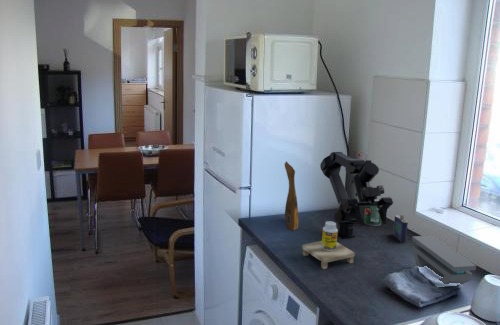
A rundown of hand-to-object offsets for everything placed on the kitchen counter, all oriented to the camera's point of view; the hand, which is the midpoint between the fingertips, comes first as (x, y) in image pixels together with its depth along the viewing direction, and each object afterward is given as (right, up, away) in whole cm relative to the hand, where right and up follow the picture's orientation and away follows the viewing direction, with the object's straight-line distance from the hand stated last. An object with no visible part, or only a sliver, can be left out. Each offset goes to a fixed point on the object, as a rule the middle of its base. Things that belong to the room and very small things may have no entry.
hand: (373, 224), depth 170 cm
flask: (+17, -9, +24) cm, 31 cm away
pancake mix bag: (-28, -5, +35) cm, 46 cm away
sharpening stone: (+19, -18, -12) cm, 29 cm away
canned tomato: (+11, -5, +41) cm, 43 cm away
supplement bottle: (-17, -9, +1) cm, 19 cm away
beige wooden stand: (-17, -13, +2) cm, 22 cm away
